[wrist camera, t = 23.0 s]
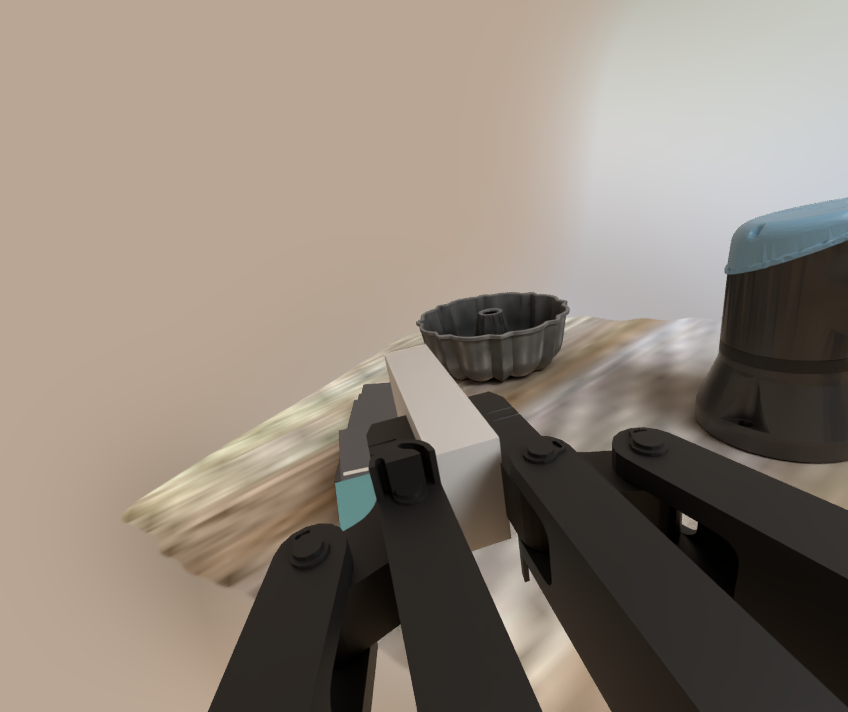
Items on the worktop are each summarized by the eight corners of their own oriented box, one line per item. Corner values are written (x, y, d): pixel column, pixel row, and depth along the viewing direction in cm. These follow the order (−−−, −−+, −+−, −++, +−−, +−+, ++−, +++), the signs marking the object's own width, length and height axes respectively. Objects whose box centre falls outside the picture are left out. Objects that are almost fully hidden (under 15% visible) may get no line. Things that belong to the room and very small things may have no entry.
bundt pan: (559, 400, 59) (557, 334, 55) (399, 390, 70) (389, 335, 67) (578, 338, 80) (577, 288, 77) (454, 338, 92) (448, 295, 89)
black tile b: (391, 490, 45) (401, 408, 54) (387, 479, 44) (399, 397, 53) (339, 491, 46) (358, 410, 55) (334, 481, 45) (354, 399, 54)
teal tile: (430, 599, 32) (398, 479, 42) (428, 586, 31) (395, 466, 40) (354, 624, 31) (339, 496, 41) (349, 612, 30) (335, 482, 39)
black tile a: (408, 525, 40) (392, 431, 49) (405, 515, 39) (390, 419, 48) (347, 539, 40) (343, 441, 49) (342, 529, 38) (338, 430, 47)
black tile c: (398, 460, 51) (406, 392, 60) (395, 449, 49) (404, 381, 59) (352, 462, 51) (366, 394, 61) (347, 451, 50) (363, 384, 59)
